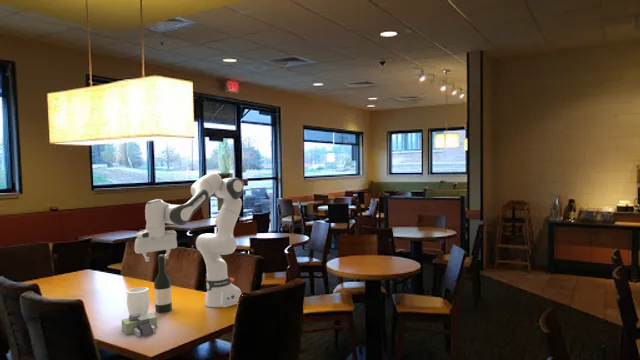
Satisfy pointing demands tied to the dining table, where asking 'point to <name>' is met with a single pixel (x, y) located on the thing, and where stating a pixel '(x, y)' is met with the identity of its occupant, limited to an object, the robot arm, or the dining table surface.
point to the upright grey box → (144, 325)
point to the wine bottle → (162, 288)
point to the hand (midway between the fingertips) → (157, 259)
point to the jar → (138, 300)
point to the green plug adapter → (132, 324)
